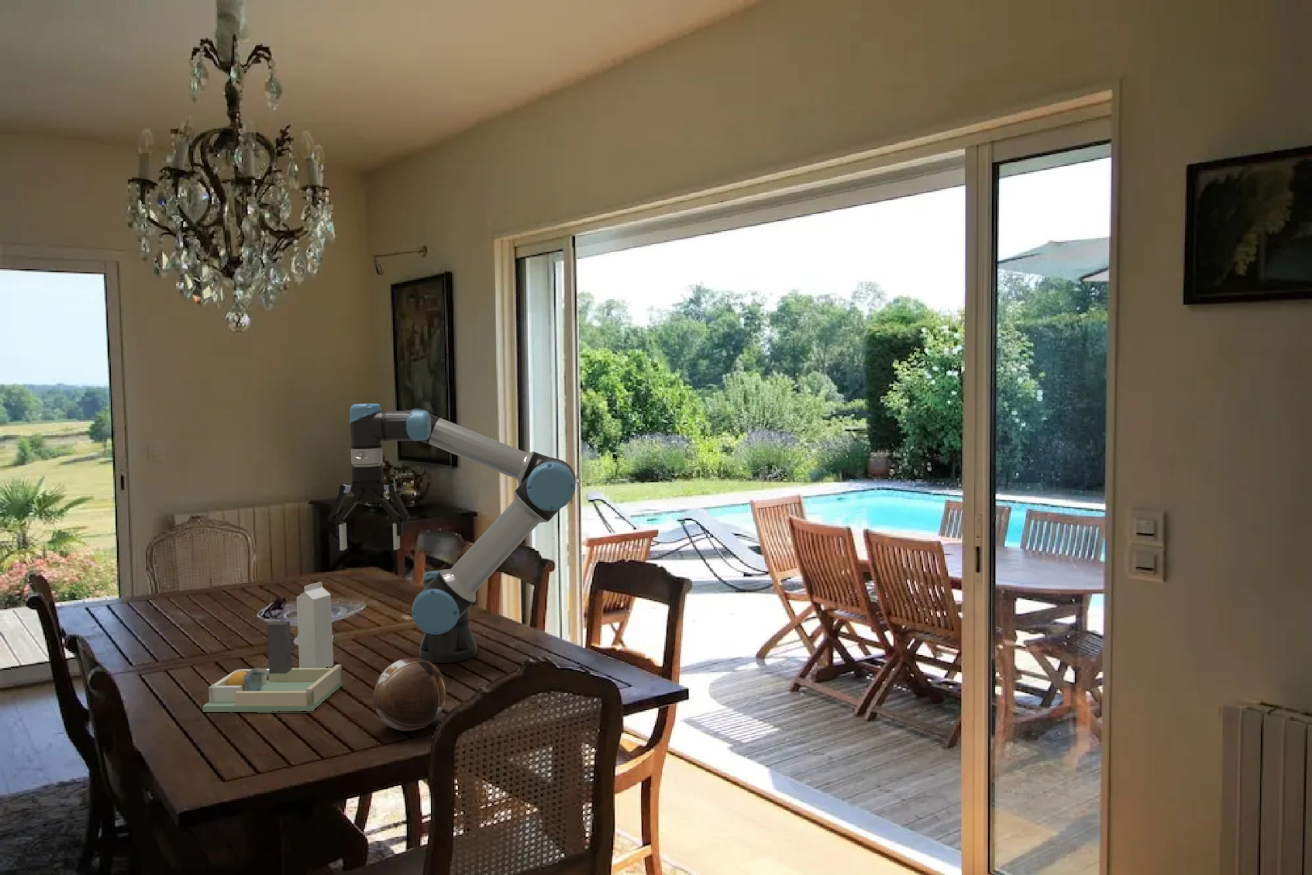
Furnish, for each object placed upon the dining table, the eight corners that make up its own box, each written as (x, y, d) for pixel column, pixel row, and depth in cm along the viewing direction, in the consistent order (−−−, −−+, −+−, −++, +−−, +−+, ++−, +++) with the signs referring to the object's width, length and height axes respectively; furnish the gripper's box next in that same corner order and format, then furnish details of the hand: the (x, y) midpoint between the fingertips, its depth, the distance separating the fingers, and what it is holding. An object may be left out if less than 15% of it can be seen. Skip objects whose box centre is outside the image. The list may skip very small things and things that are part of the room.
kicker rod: (295, 686, 221) (292, 619, 220) (284, 695, 215) (281, 626, 214) (256, 686, 221) (253, 619, 220) (244, 695, 215) (241, 626, 214)
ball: (230, 681, 221) (247, 693, 221) (219, 688, 216) (237, 700, 216) (241, 664, 220) (258, 676, 220) (230, 670, 215) (248, 682, 215)
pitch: (342, 685, 226) (341, 664, 226) (312, 712, 208) (311, 688, 208) (241, 686, 227) (240, 665, 227) (202, 712, 209) (201, 689, 209)
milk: (299, 669, 240) (295, 585, 239) (317, 662, 246) (313, 580, 245) (316, 672, 238) (312, 586, 236) (334, 665, 243) (330, 582, 242)
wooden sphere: (359, 733, 195) (356, 662, 194) (414, 711, 208) (412, 645, 207) (408, 747, 187) (405, 674, 186) (462, 724, 199) (460, 655, 199)
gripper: (311, 467, 230) (315, 552, 231) (411, 465, 229) (414, 551, 230) (323, 464, 237) (327, 547, 238) (420, 463, 236) (423, 545, 237)
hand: (370, 549), depth 234 cm, fingers open, 13 cm apart
